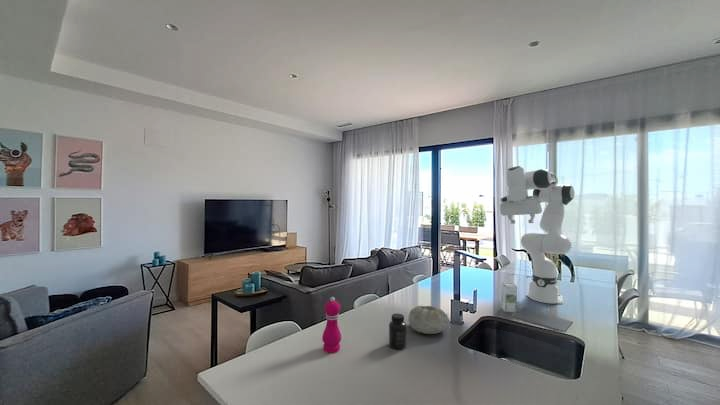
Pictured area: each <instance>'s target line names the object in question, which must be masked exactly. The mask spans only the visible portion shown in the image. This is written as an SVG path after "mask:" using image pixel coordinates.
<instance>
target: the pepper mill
mask: <svg viewBox="0 0 720 405" xmlns="http://www.w3.org/2000/svg"><path fill="white" fill-rule="evenodd" d="M329 298H330V299H329V301H327V302H326V303H325V305H324V312H325V319H326V326H325V328H324V330H323V333H322V338H321V339H322V340H321V341H322V342H323V351H324V352H325V353H327V354H335V353H338V352H339V351H340V348H341V341H342V333H341V331H340V328H339V325H338V320H339V318H340V316H339V315H340V314H339V313H340V311H341V305H340V303H339V301H336V298H335V297H334V296H331V297H329Z"/></svg>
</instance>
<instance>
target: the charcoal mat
mask: <svg viewBox="0 0 720 405" xmlns="http://www.w3.org/2000/svg"><path fill="white" fill-rule="evenodd" d="M511 317H512V318H514V319H517V320H521V321H523V322H527V323H531V324H535V325H538V326H542V327H545V328H548V327H549V329H552V328H553V329H552V330H555V329H557V330H556V331H559V330H561V331H560V332H562V331H564V332H563V333H566V331H568V329H569V328H570V327H571V325H573V323H574V321H572V320H570V319H566V318H561V317H557V316H554V315H550V314H546V313H543V312H539V311H538V312H537V311H534V310H530V309H526V308H522V309H521V310H519V311H517V312H516V313H515V314H514V315H512V316H511Z"/></svg>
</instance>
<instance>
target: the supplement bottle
mask: <svg viewBox="0 0 720 405" xmlns="http://www.w3.org/2000/svg"><path fill="white" fill-rule="evenodd" d="M388 346H389V347H390V348H391V349H393V350H397V351H399V350H404V349H405V348H406V347H407V324H406V322H405V315H404V314H402V313H398V312H397V313H393V314H391V321H389V323H388Z"/></svg>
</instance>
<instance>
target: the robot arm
mask: <svg viewBox="0 0 720 405" xmlns="http://www.w3.org/2000/svg"><path fill="white" fill-rule="evenodd" d="M506 170H507V171H506V184H507V186H508V190H507V191H508V194H507V195H505V196H503V197H501V198H499V201H500V204H499V212H500V215H502V217H504V216H505V217H507V218H508V219H509V222H510V224H511V225H514V224H516V220H515V219H514V218H513V216H524V215H529V217H530V218H529V219H527V220H528V223H529V224H533V223H534V219H535V217H536V215H539V214H542V215H541V219H540V221H539V228H540V229H541V230H542V231H543V232H545V233H537V232H532V233H529V232H528V233H524V234H523V235H522V236H521V238H520V244H521V246H522V248H523V249H524V250H525V251H527V253H528V254H529V256H530V257H531V260H532V267H533V268H532V269H533V271H532V272H533V273H532V276H531V277H532V278H531V280H532V281H531V282H529V284H528V293H526V294H525V296H526V297H528V298H529V299H531V300H532V301H535V302H539V303H544V304H557V305H558V304H559V305H562V304H563V302H564V300H563V299H564V296H563V295H561V294H560V293H559V291H560V290H559V289H560V288H559V286H558V285H557V275H556V264H555V262H554V261H553V260H551V259H550V258H548V257H547V256H546V254H553V255H567V254H568V253H569V252H570V251H571V250H572V242H571V240H570V239H569V238H568V237H567V236H566V235H565V234H564V233H563V231H562V225H563V222H564V217H565V206H567V205H568V204H569V203H571V201H573V199H574V198H575V189H574V187H573V186H572V185H571V184H558V183H559V178H558V176H557V175H556V174H555V173H553V172H550V171H549V170H548V169H546V168H539V169H537V170H531V171H526V172H525V169H524V167H523V165H516V166H512V167H510V168H508V169H506ZM531 190H532V195H529V192H528V191H531ZM541 203H547V205H546V206H545V208H544V210H543V208H542V205H541Z"/></svg>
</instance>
